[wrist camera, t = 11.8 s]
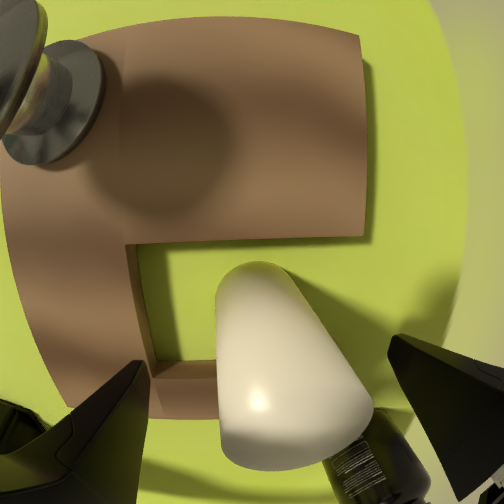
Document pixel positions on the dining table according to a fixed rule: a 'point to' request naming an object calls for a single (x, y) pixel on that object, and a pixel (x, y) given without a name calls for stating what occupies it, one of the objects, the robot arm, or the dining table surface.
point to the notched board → (182, 184)
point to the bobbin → (44, 87)
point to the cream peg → (280, 375)
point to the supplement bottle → (378, 467)
